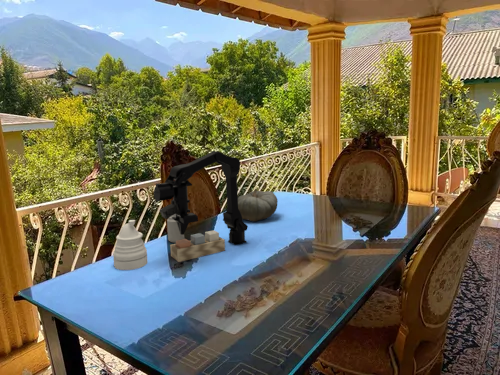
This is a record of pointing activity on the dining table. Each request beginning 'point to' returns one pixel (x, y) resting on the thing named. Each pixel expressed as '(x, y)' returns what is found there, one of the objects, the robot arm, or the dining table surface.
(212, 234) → the ivory key
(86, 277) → the dining table surface
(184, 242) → the salmon rounded block
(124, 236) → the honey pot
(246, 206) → the gourd
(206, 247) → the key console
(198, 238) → the slate key
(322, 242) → the dining table surface
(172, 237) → the can
